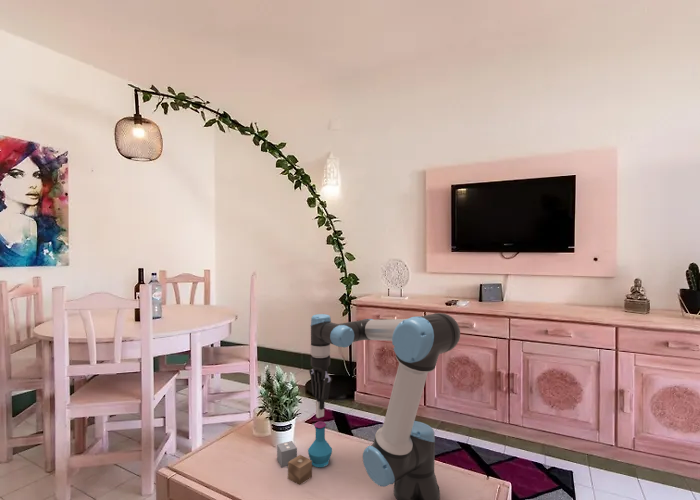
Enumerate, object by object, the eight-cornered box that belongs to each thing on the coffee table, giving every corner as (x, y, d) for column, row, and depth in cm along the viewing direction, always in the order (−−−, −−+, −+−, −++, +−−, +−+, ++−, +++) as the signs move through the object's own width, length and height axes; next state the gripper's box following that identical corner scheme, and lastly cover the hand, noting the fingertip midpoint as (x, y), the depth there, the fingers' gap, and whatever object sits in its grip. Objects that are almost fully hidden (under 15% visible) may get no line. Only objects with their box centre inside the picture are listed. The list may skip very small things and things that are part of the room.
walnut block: (311, 477, 135) (311, 460, 135) (299, 485, 131) (299, 467, 130) (300, 471, 139) (300, 454, 139) (287, 478, 134) (288, 461, 134)
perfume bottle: (333, 456, 149) (333, 418, 149) (330, 470, 139) (330, 429, 139) (310, 455, 150) (310, 417, 150) (305, 468, 140) (305, 428, 140)
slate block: (296, 463, 144) (296, 447, 144) (281, 467, 141) (281, 451, 141) (291, 455, 149) (292, 440, 149) (277, 459, 146) (277, 443, 146)
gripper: (338, 357, 141) (337, 420, 142) (319, 349, 152) (319, 408, 152) (321, 361, 137) (320, 425, 137) (303, 352, 147) (303, 412, 148)
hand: (320, 416), depth 145 cm, fingers closed
